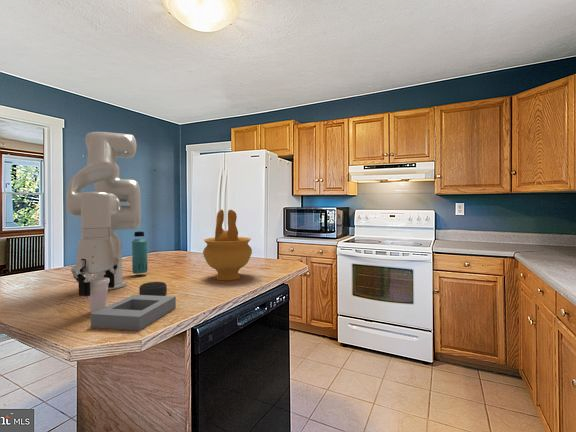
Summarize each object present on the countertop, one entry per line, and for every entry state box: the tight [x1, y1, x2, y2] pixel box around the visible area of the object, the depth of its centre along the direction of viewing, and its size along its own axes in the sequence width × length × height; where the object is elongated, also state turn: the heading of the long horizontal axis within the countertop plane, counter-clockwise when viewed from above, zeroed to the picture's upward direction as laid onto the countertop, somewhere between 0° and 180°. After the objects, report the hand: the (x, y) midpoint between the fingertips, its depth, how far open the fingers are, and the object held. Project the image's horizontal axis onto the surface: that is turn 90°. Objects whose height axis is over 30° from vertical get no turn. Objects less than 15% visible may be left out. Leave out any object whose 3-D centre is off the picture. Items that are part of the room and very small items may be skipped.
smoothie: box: [87, 273, 110, 314], centre depth 94 cm, size 6×6×14 cm
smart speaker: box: [138, 281, 168, 296], centre depth 112 cm, size 9×9×4 cm
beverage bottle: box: [131, 231, 149, 275], centre depth 143 cm, size 6×7×20 cm
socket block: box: [89, 294, 177, 331], centre depth 90 cm, size 14×18×4 cm
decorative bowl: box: [202, 209, 253, 281], centre depth 138 cm, size 21×21×30 cm
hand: (97, 291), depth 93 cm, fingers open, 9 cm apart
